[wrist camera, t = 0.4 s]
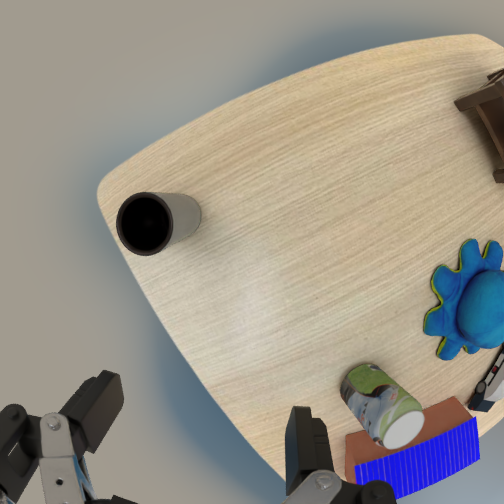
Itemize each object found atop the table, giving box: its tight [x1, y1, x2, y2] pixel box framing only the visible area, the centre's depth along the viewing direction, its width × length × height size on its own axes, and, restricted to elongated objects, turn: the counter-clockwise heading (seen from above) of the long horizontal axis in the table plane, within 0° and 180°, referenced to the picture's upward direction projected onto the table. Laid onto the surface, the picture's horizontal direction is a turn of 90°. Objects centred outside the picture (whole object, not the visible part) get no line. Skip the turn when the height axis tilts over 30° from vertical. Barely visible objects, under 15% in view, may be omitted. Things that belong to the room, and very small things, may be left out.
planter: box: [116, 192, 201, 256], centre depth 24 cm, size 4×4×10 cm
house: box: [345, 396, 480, 499], centre depth 29 cm, size 12×20×12 cm, turn 101°
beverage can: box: [340, 364, 424, 449], centre depth 27 cm, size 6×7×12 cm
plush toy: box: [423, 239, 504, 360], centre depth 27 cm, size 17×17×8 cm
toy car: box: [468, 342, 504, 412], centre depth 30 cm, size 5×16×5 cm, turn 156°
